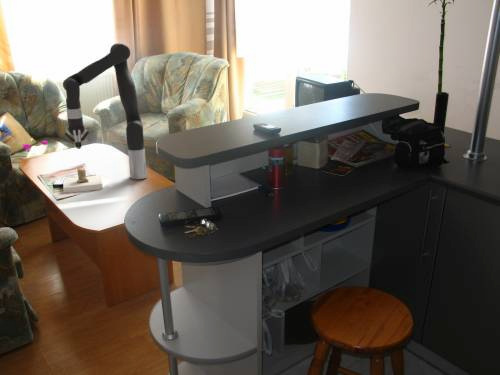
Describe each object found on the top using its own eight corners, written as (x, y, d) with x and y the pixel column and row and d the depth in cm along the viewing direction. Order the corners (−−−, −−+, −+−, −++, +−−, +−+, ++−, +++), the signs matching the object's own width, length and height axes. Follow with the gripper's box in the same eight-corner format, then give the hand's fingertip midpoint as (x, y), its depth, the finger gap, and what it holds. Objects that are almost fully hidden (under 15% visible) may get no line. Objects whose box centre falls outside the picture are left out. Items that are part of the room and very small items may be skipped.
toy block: (28, 156, 332) (26, 146, 329) (24, 155, 336) (23, 144, 334) (50, 152, 342) (48, 142, 339) (46, 151, 346) (45, 140, 343)
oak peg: (87, 184, 278) (85, 167, 274) (87, 187, 274) (85, 169, 271) (79, 185, 276) (77, 168, 273) (79, 188, 273) (77, 170, 269)
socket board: (100, 180, 285) (100, 175, 284) (102, 189, 271) (102, 183, 270) (64, 183, 279) (63, 178, 278) (64, 193, 265) (63, 187, 264)
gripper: (87, 114, 268) (91, 145, 273) (61, 116, 263) (65, 147, 269) (88, 117, 261) (91, 149, 267) (61, 119, 257) (65, 151, 263)
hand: (78, 148), depth 268 cm, fingers closed
